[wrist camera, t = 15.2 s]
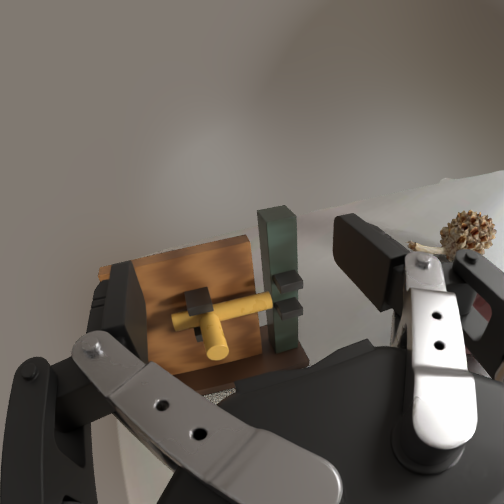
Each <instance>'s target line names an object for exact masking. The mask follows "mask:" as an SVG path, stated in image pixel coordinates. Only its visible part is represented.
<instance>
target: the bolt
mask: <svg viewBox="0 0 504 504" xmlns="http://www.w3.org/2000/svg"><path fill="white" fill-rule="evenodd" d="M272 307H273V303H272V298H271V295H270V293H269V292H268V291H266V292H262V293H258V294H254V295H250V296H246V297H242V298H238V299H234V300H230V301H226V302H221V303H217V304H213V309H214V311H212V312H208V313H204V314H199V315H195V316H191V317H189V314H188V310H187V311H183V312H178V313H174V314H172V315H171V317H172V322H173V326H174V329H175V331H181V330H185V329H190V328H194V327H198V326H200V329H201V334H202V338H203V342H204V346H205V351H206V355H207V357H208V358H209V359H211V360H221V359H223V358H225V357H226V356H227V355H228V353H229V349H228V346H227V342H226V339H225V336H224V333H223V330H222V326H221V323H220V321H224V320H228V319H232V318H236V317H240V316H244V315H248V314H252V313H255V312H259V311H263V310H267V309H271V308H272Z"/></svg>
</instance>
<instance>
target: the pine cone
mask: <svg viewBox="0 0 504 504" xmlns="http://www.w3.org/2000/svg"><path fill="white" fill-rule="evenodd" d="M485 216H486V215H484V216H482V217H481V212H480V213H479V214H477V212H473V211H471V210H469V211H468V213H466V212H465V211H463V212H462V213H459V212H458V215H457V217H456V219H452V222H451V224H450V223H448V227H443V228H442V230H441V231H440V235H441V238H442V240H440V243H441V244H442V245H443V246H441V247H428V246H423V245H420V244H418V243H416V242H415V243H414V242H412V241H408V242H407V243H409V245H408V247H409V248H410V249H411V250H413V251H422V252H427V253H430V254H444V255H445V254H446V257H447V259H449V261H450V262H451V261H452V260H453V261H454V258H455V254H456V252H457V251H458V250H460V249H469V250H473V251H476V252H478V253H480V254H481V255H483V254H484V253H485V251H484V249H488V248H490V246H492V245H493V244H492V243H491V240H492V239H495V235H494V234H496V230H495V229H493V228H494V226H495V225H494V224H492V219H491V218H489V219H488V215H487V216H486V217H485Z"/></svg>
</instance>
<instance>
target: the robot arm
mask: <svg viewBox="0 0 504 504" xmlns="http://www.w3.org/2000/svg"><path fill="white" fill-rule="evenodd" d="M333 256H334V260H335V262H336V264H337V265H338V266H339V267H340V268H341V269H342V270H343V272H344V273H345V274H346V275H347V276H348V277H349V278H350V279H351V280H352V281H353V282H354V283H355V285H356V286H357V287H358V288H359V289H360V290H361V291H362V292H363V293H364V294H365V296H366V297H367V298H368V299H369V300H370V301H371V302H372V303H373V305H374V306H375V307H376V308H377V309H378V310H379V311H380V312H383V311H385V310H388V309H391V308H392V309H393V310H394V311H393V315H392V327H391V342H390V347H389V346H381V347H374V346H373V345H372V344H371V342H370V341H369V340H368V339H365V340H362V341H360V342H357V343H354V344H352V345H349V346H346V347H343V348H341V349H338V350H337V351H335V352H333V353H332V354H330V355H329V356H327V357H326V358H324V359H322V360H321V361H319V362H318V363H316V364H314V365H313V366H311V367H308V368H303V369H293V370H283V371H271V372H267V373H263V374H259V375H256V376H252V377H249V378H245V379H241V380H237V381H234V385H235V389H236V392H235V393H233V394H231V395H229V396H228V397H226V398H225V399H223V400H222V401H221V402H219V403H218V404H217V405H215V404H214V403H212V402H211V401H209V400H208V399H206V398H205V397H203V396H202V395H200V394H199V393H197V392H196V391H194V390H193V389H191V388H190V387H188V386H187V385H185V384H184V383H183V382H181V381H180V380H178V379H177V378H176V377H174V376H173V375H171V374H170V373H169V372H167V371H166V370H165V369H163V368H162V367H161V366H159V365H158V364H156V363H155V362H153V361H150V362H148V343H147V312H146V303H145V299H144V295H143V292H142V289H141V287H140V284H139V281H138V278H137V275H136V272H135V269H134V266H133V263H132V261H131V260H129V261H125V262H121V263H117V264H113V265H111V270H110V275H109V279H106V280H102V281H101V282H100V283H99V285H98V286H97V287H96V289H95V291H94V295H93V301H92V305H91V310H90V315H89V321H88V326H87V332H86V334H85V335H83V336H82V337H81V338H79V339H78V340H77V341H76V343H75V344H74V346H73V348H72V356H71V357H69V358H67V359H65V360H63V361H61V362H58V363H56V364H54V365H52V366H50V364H49V363H48V362H47V360H46V359H44V358H42V357H33V358H30V359H28V360H26V361H25V362H23V363H22V364H21V365H20V366H19V367H18V369H17V370H16V373H15V375H14V379H13V384H12V389H11V394H10V400H9V405H8V411H7V417H6V424H5V432H4V441H3V451H2V462H1V482H0V504H98V501H97V494H96V486H95V477H94V468H93V457H92V439H91V422H93V421H95V420H97V419H100V418H102V417H104V416H106V415H109V414H111V413H112V414H113V415H114V416H115V417H116V418H117V419H118V420H119V421H120V422H121V423H122V424H123V425H124V426H125V427H126V428H127V429H128V430H129V431H130V432H131V433H132V434H133V435H134V436H135V437H136V438H137V439H138V440H139V441H140V442H141V443H142V444H143V445H145V446H146V447H147V448H148V449H149V450H150V451H151V452H152V453H153V454H154V455H155V456H156V457H157V458H158V459H159V460H160V461H161V462H162V463H163V464H164V465H166V466H167V467H168V468H169V469H170V470H172V471H173V472H174V474H173V476H172V478H171V479H170V481H169V483H168V485H167V486H166V488H165V490H164V492H163V493H162V495H161V497H160V499H159V500H158V502H157V504H504V273H503V272H502V271H501V270H500V269H499V268H497V267H496V266H495V265H494V264H492V263H491V262H490V261H489V260H487V259H486V258H485V257H484V256H482V255H481V254H480V253H478V252H476V251H473V250H469V249H460V250H458V251H457V252H456V254H455V258H454V262H445V263H441V262H440V261H439V259H438V258H437V257H435V256H434V255H432V254H430V253H427V252H422V251H414V252H410V251H408V250H407V249H406V248H405V247H403V246H402V245H401V244H400V243H398V242H397V241H396V240H394V239H392V238H391V237H390V236H389V235H388V234H385V232H384V231H382V230H381V229H380V228H378V227H377V226H375V225H372V224H369V223H367V222H365V221H364V220H362V219H361V218H360V217H358V216H357V215H356V214H354V213H351V214H346V215H341V216H337V217H335V220H334V233H333ZM477 293H478V294H479V295H480V296H481V297H482V298H483V299H484V300H485V301H486V302H487V303H488V304H489V305H490V307H491V310H492V315H491V318H490V320H489V322H488V321H487V320H486V319H485V318H484V317H483V316H482V315H481V314H480V313H479V312H478V311H477V310H476V309H475V308H474V307H473V306H472V305H473V303H474V300H475V297H476V295H477ZM465 346H466V348H467V349H468V350H469V351H470V352H471V353H472V355H473V356H474V357H475V358H476V359H477V361H478V362H479V363H480V364H481V366H482V367H483V368H484V369H485V370H486V372H487V373H488V374H489V375H490V377H491V378H492V379H491V378H487V377H484V376H481V375H478V374H475V373H472V372H469V371H468V368H467V360H466V352H465Z"/></svg>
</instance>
